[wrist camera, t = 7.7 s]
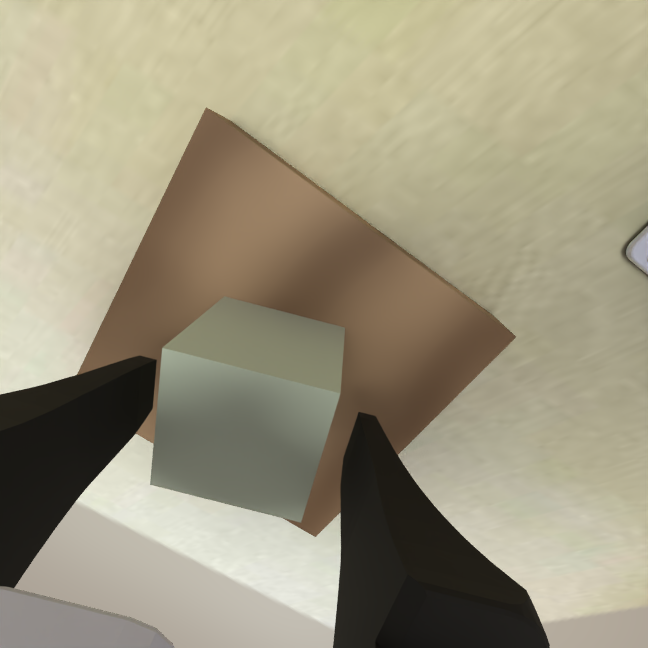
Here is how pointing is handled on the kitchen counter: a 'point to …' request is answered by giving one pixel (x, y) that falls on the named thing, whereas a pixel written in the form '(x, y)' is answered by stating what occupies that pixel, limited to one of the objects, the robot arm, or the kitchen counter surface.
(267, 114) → the kitchen counter surface
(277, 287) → the walnut base
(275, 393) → the sage block
